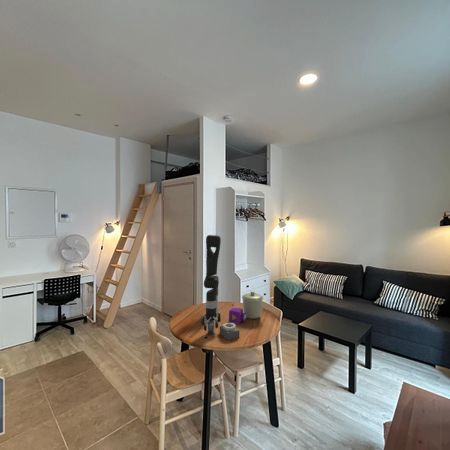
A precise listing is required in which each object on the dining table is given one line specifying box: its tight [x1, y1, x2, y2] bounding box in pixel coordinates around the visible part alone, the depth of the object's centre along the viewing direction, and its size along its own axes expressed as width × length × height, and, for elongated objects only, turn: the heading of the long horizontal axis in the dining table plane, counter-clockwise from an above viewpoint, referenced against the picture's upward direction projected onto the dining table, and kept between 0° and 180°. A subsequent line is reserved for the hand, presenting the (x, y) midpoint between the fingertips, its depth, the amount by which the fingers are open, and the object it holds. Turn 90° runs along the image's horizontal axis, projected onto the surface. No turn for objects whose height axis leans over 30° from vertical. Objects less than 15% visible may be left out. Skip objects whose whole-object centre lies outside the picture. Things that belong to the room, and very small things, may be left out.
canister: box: [241, 290, 264, 320], centre depth 203 cm, size 18×18×21 cm
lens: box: [207, 320, 215, 335], centre depth 172 cm, size 5×5×8 cm
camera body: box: [219, 322, 240, 341], centre depth 168 cm, size 12×9×7 cm
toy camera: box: [228, 306, 247, 324], centre depth 193 cm, size 11×14×10 cm
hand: (210, 329), depth 171 cm, fingers open, 8 cm apart
